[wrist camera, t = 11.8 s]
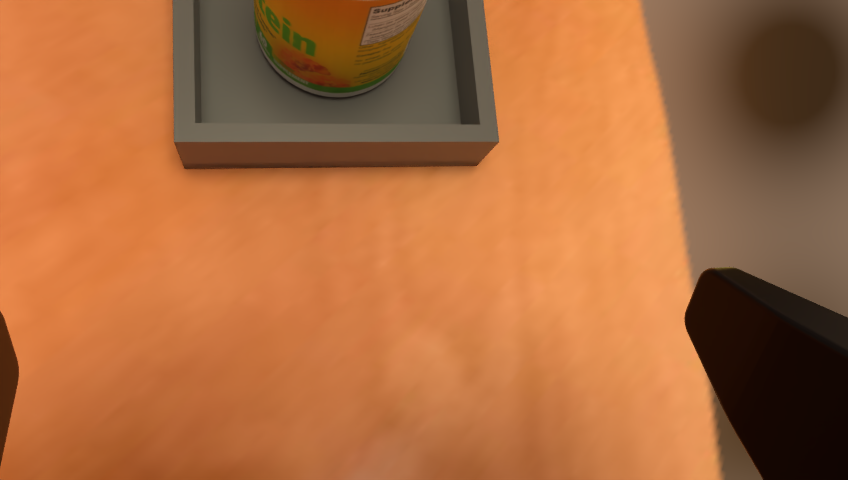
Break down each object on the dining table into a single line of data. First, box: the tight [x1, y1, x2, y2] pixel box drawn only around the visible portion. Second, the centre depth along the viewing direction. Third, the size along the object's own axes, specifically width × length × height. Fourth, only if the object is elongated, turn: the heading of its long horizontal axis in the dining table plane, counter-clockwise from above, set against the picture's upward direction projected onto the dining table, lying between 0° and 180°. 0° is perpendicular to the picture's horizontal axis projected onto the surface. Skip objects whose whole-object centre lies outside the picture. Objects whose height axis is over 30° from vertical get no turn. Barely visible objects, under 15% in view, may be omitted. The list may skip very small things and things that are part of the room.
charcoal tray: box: [173, 0, 499, 169], centre depth 23 cm, size 10×10×2 cm
